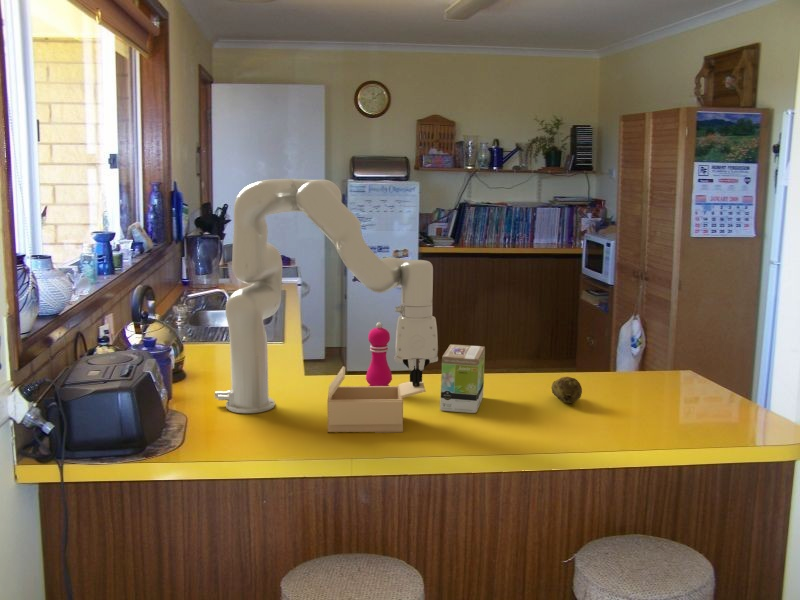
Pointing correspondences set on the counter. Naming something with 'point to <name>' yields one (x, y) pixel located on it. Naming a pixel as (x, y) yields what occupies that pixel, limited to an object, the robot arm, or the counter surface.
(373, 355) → the pepper mill
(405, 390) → the right flap
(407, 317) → the robot arm
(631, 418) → the counter surface
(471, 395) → the tea box
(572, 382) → the potato
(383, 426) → the carton
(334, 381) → the left flap
